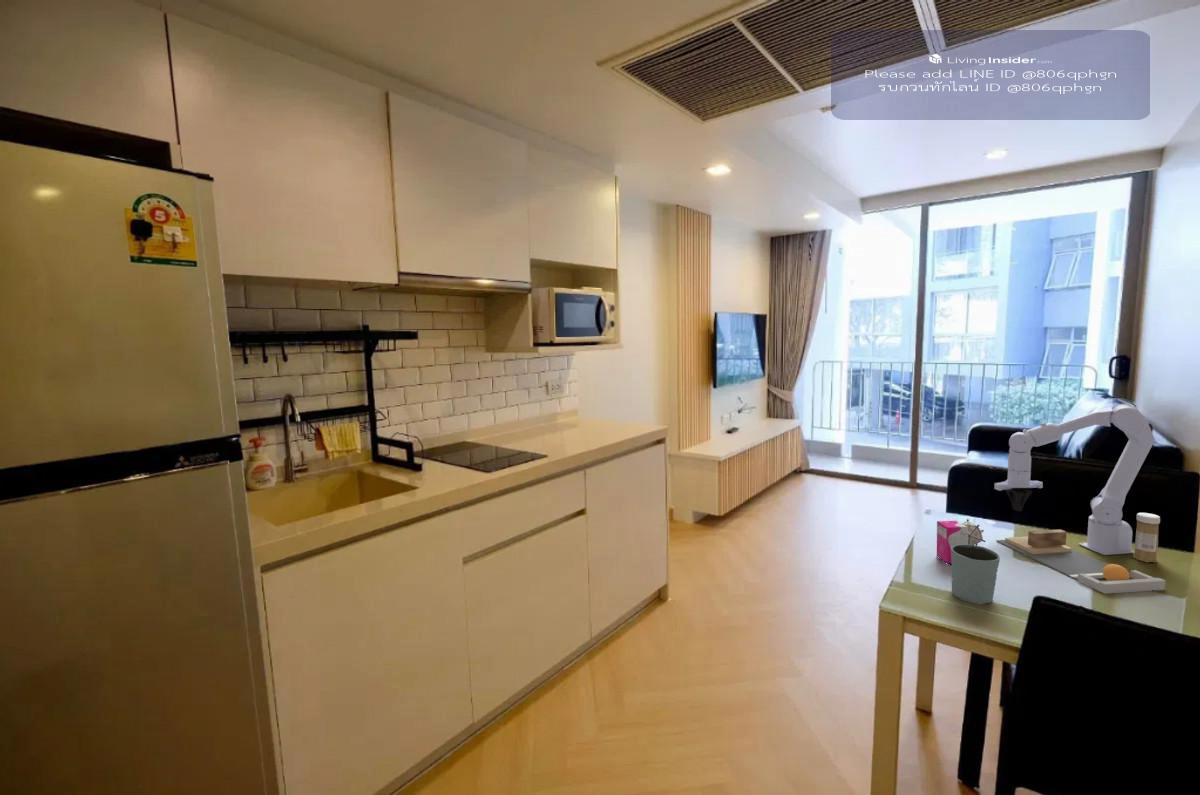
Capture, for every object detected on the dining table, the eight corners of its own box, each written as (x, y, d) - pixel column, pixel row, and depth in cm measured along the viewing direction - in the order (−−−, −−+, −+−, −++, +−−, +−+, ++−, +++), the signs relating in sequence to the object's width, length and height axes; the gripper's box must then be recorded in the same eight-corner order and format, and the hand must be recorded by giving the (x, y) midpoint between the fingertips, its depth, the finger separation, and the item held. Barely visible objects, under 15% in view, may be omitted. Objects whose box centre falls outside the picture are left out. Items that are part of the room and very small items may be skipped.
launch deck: (1044, 538, 165) (1045, 530, 164) (1164, 589, 131) (1165, 580, 131) (996, 541, 164) (996, 533, 164) (1104, 593, 130) (1105, 584, 130)
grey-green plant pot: (951, 583, 139) (953, 540, 138) (998, 593, 133) (1000, 549, 131) (947, 598, 132) (948, 554, 130) (997, 610, 125) (999, 563, 124)
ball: (1135, 568, 132) (1134, 586, 133) (1115, 560, 137) (1114, 578, 138) (1117, 569, 132) (1116, 588, 133) (1097, 561, 137) (1096, 579, 138)
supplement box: (955, 556, 155) (957, 520, 154) (967, 565, 149) (969, 527, 148) (935, 556, 156) (936, 520, 154) (946, 565, 150) (947, 527, 148)
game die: (975, 558, 161) (998, 540, 155) (949, 550, 161) (972, 532, 155) (964, 535, 168) (986, 517, 162) (940, 527, 168) (961, 509, 162)
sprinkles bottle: (1158, 560, 146) (1162, 515, 145) (1154, 564, 144) (1158, 518, 142) (1135, 555, 150) (1139, 510, 149) (1131, 559, 148) (1134, 514, 146)
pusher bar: (1059, 542, 156) (1060, 529, 156) (1065, 545, 154) (1066, 531, 154) (1027, 544, 156) (1028, 531, 155) (1033, 547, 154) (1034, 533, 153)
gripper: (1030, 465, 170) (1028, 504, 172) (987, 467, 170) (986, 507, 171) (1049, 470, 163) (1047, 511, 165) (1005, 473, 163) (1003, 514, 164)
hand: (1017, 510), depth 167 cm, fingers closed
